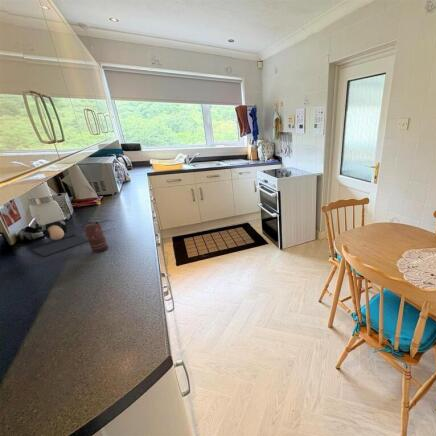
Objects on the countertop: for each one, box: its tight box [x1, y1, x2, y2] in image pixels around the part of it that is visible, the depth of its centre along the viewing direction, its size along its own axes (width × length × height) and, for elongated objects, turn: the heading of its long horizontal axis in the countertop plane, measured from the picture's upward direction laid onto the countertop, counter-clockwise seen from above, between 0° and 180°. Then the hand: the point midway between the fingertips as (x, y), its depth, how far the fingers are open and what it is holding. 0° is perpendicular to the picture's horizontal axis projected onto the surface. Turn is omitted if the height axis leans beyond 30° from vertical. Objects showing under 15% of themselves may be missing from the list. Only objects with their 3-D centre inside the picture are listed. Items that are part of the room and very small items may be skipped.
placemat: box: [28, 234, 89, 258], centre depth 118 cm, size 18×16×1 cm
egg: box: [47, 225, 65, 241], centre depth 115 cm, size 6×6×8 cm
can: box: [83, 221, 109, 254], centre depth 111 cm, size 6×6×14 cm
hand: (56, 234), depth 116 cm, fingers closed on egg, 5 cm apart
